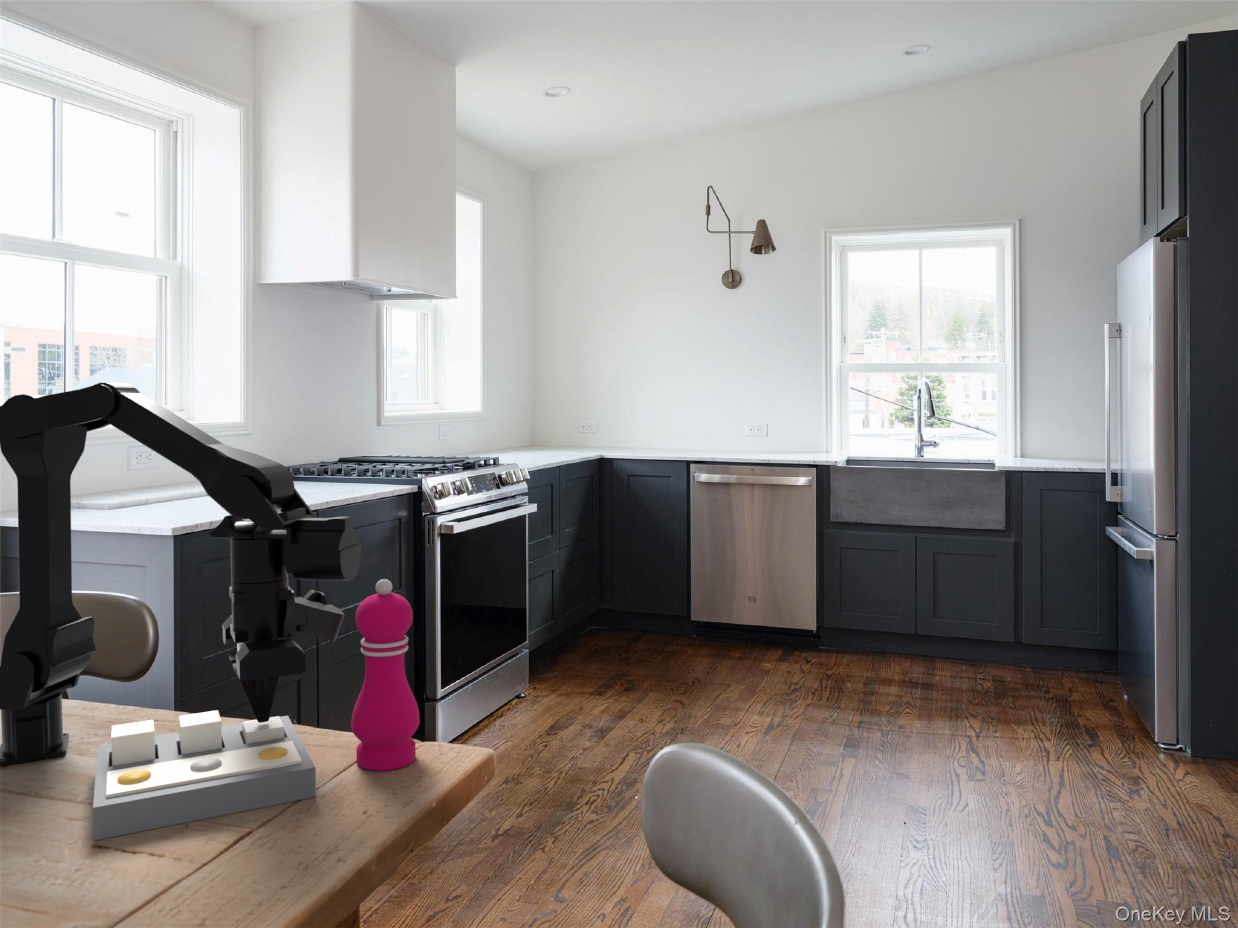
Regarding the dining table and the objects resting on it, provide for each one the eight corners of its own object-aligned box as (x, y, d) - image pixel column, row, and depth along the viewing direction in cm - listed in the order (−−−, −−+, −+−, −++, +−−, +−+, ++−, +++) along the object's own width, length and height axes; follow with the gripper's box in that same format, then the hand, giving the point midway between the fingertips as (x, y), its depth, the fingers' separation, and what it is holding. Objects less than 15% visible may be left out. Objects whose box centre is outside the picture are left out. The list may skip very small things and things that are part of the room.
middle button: (179, 745, 96) (178, 715, 96) (218, 738, 98) (217, 710, 97) (181, 757, 92) (180, 726, 92) (221, 750, 94) (221, 720, 94)
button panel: (98, 772, 95) (97, 739, 95) (288, 740, 104) (287, 711, 104) (94, 840, 80) (92, 802, 80) (315, 796, 89) (315, 762, 89)
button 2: (242, 750, 99) (242, 721, 99) (279, 743, 101) (278, 715, 100) (247, 762, 95) (246, 732, 95) (284, 755, 97) (284, 726, 97)
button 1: (112, 755, 93) (111, 725, 93) (154, 749, 95) (153, 719, 94) (112, 768, 89) (111, 737, 89) (155, 761, 91) (154, 730, 91)
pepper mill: (402, 775, 94) (400, 587, 93) (339, 770, 96) (336, 584, 94) (430, 750, 101) (428, 574, 100) (371, 745, 103) (368, 571, 102)
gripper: (355, 587, 93) (358, 735, 94) (321, 560, 109) (323, 686, 110) (238, 597, 87) (242, 755, 88) (220, 567, 104) (224, 700, 105)
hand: (263, 721), depth 98 cm, fingers closed
